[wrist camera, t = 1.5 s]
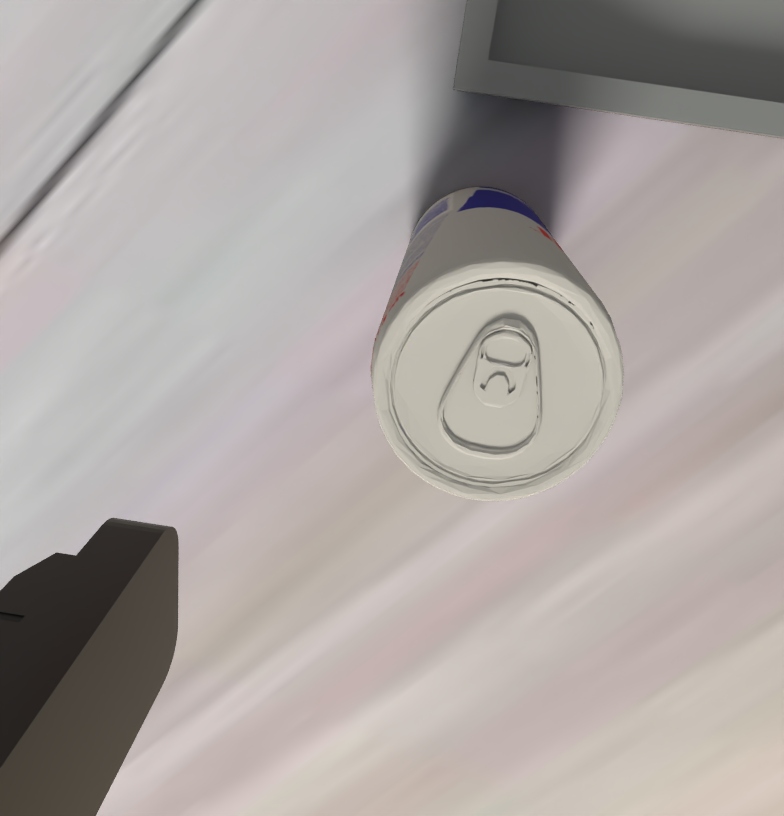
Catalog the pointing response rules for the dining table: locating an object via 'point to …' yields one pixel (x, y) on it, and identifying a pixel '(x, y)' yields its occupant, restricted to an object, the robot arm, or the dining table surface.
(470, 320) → the beverage can
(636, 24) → the tray
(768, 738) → the dining table surface
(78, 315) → the dining table surface
